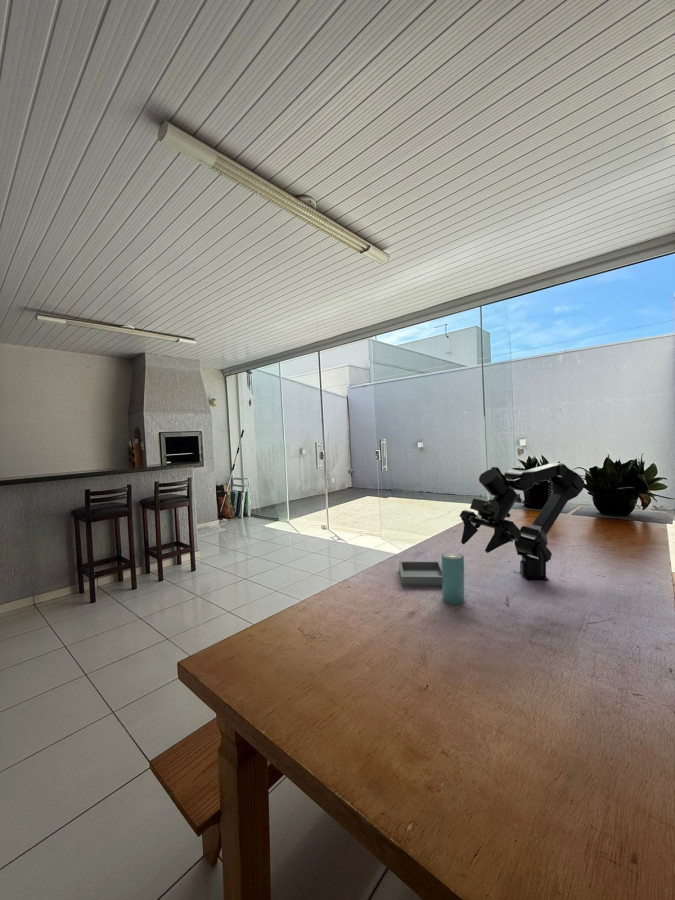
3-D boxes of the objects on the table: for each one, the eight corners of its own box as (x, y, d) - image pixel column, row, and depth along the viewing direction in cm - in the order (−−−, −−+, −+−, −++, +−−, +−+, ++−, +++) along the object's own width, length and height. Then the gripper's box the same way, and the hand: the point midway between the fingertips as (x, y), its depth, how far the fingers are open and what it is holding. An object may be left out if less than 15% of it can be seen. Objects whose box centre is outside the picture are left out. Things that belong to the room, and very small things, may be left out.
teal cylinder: (461, 594, 112) (461, 552, 111) (466, 604, 106) (466, 559, 105) (440, 594, 112) (439, 552, 112) (444, 604, 106) (443, 559, 106)
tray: (439, 569, 131) (439, 561, 131) (447, 586, 118) (446, 576, 118) (399, 569, 133) (399, 561, 133) (401, 586, 119) (401, 576, 119)
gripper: (463, 484, 122) (436, 524, 117) (513, 492, 105) (484, 539, 101) (482, 506, 125) (456, 545, 121) (533, 517, 109) (505, 563, 105)
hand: (473, 547), depth 112 cm, fingers open, 9 cm apart
